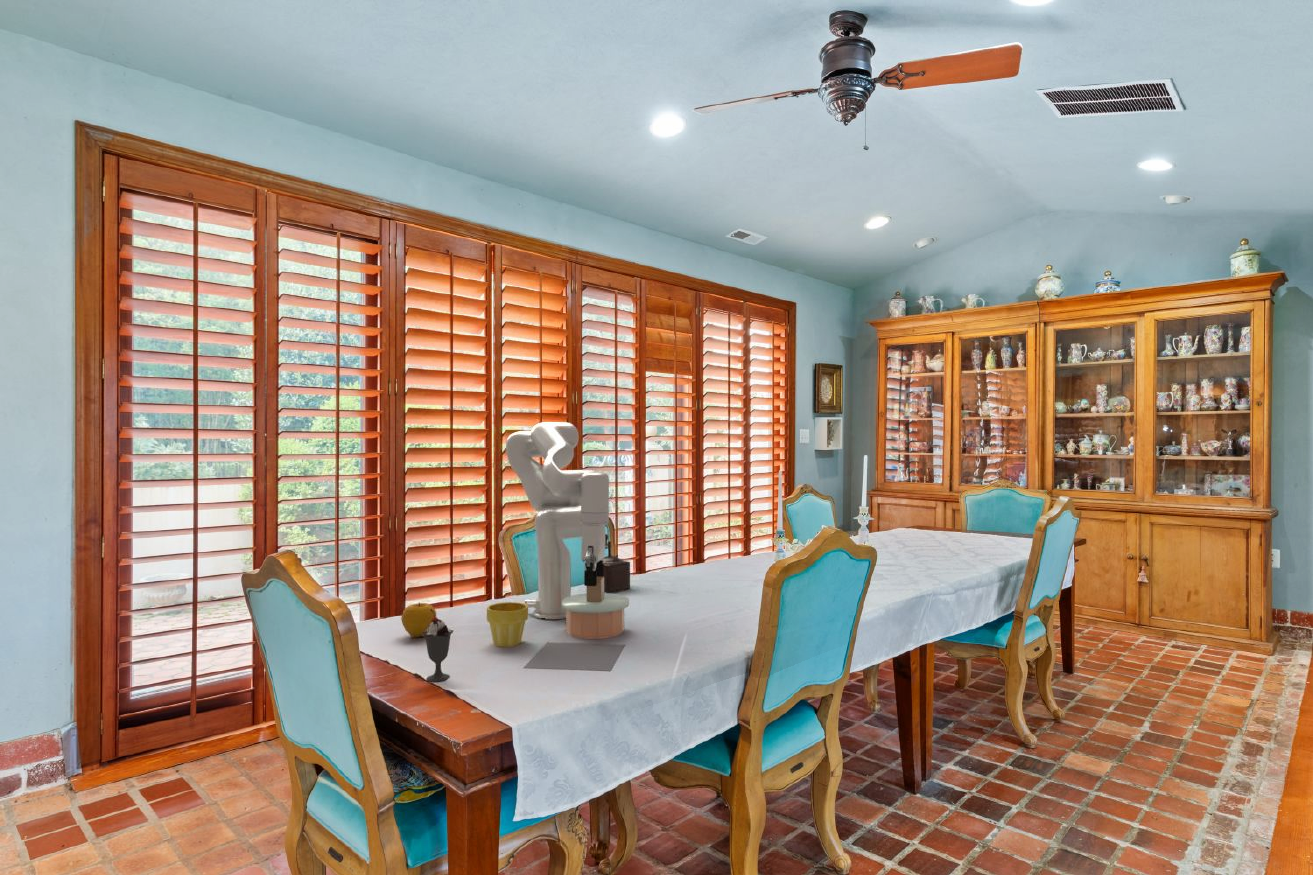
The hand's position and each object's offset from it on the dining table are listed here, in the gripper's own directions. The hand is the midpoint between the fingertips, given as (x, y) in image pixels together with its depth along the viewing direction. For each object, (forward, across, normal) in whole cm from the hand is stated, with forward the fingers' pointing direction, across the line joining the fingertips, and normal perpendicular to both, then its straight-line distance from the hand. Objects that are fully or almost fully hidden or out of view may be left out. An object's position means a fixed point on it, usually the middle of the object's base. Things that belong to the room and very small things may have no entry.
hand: (594, 581), depth 192 cm
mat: (+13, +23, +1) cm, 26 cm away
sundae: (+14, +40, -26) cm, 50 cm away
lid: (+6, 0, 0) cm, 6 cm away
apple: (+14, +9, -45) cm, 48 cm away
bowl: (+14, +1, +1) cm, 14 cm away
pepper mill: (+15, -56, -7) cm, 59 cm away
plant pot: (+14, +14, -19) cm, 28 cm away
